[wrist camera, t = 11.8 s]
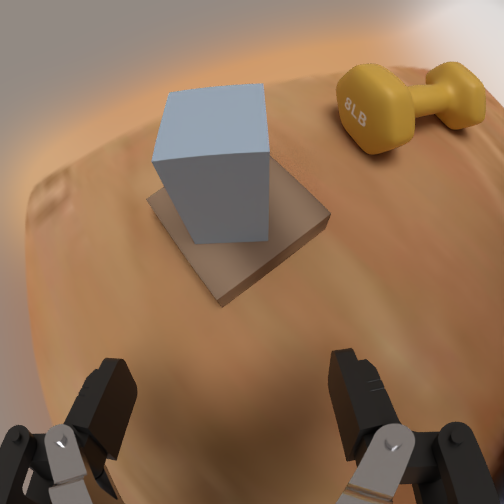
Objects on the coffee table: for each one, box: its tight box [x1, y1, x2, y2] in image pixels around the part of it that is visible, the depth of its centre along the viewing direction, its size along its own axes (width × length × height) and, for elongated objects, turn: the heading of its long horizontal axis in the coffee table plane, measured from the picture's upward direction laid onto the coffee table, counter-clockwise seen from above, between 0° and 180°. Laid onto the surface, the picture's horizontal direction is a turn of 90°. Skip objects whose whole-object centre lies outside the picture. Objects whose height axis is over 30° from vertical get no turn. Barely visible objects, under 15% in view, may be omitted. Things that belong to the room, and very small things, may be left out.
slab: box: [146, 156, 331, 308], centre depth 22 cm, size 10×10×3 cm
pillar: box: [152, 84, 270, 244], centre depth 16 cm, size 5×5×9 cm
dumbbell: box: [336, 62, 486, 155], centre depth 23 cm, size 19×9×8 cm, turn 113°
